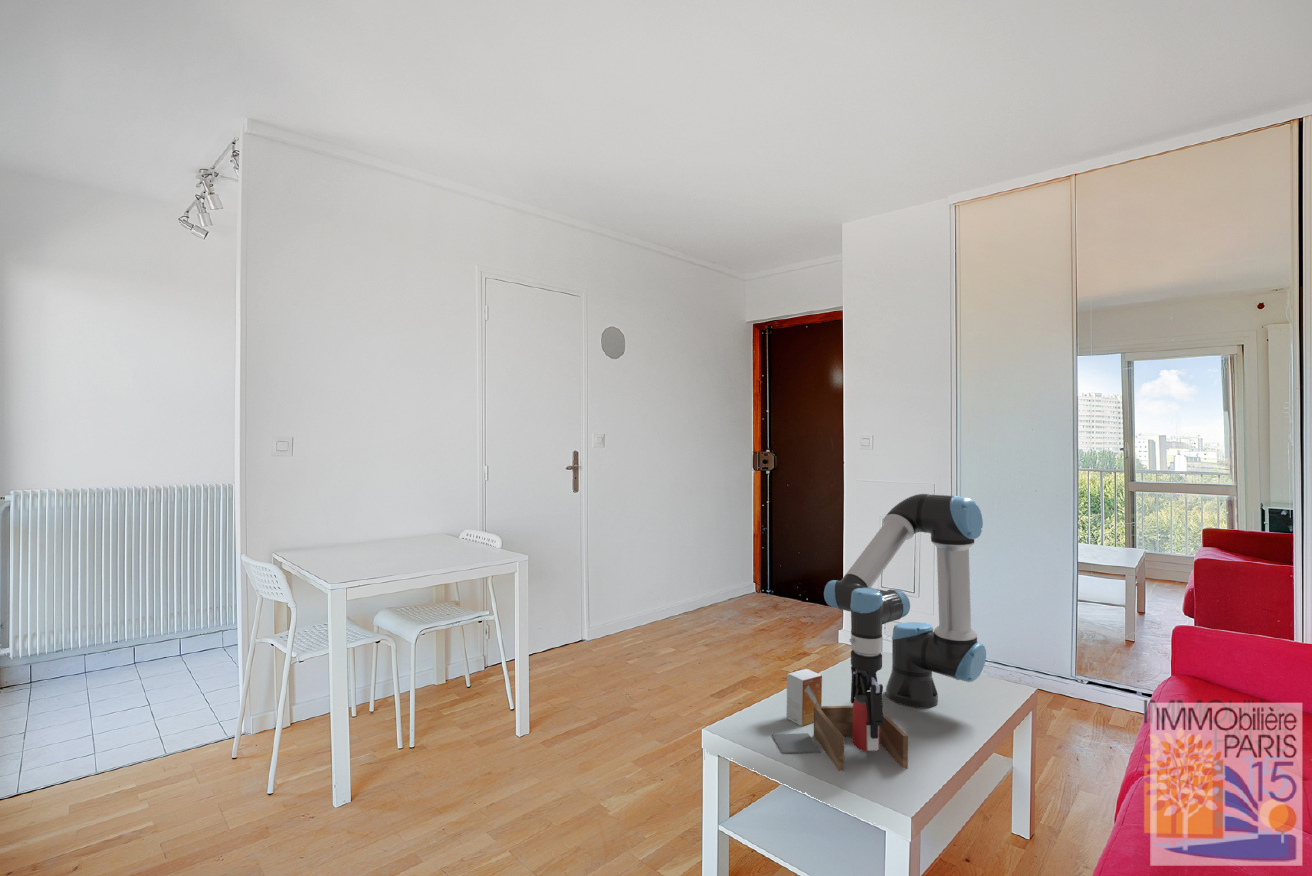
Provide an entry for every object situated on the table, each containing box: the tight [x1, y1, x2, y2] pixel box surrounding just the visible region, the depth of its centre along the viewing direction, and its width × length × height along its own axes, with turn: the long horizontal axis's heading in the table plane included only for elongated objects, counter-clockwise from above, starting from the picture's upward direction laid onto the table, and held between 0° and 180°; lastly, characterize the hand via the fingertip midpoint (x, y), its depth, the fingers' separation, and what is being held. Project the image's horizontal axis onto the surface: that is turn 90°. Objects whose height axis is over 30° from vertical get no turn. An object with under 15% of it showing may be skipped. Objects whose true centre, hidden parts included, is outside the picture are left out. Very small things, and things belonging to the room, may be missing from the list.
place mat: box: [771, 732, 822, 755], centre depth 167 cm, size 10×10×1 cm
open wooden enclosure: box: [813, 705, 909, 772], centre depth 163 cm, size 17×18×8 cm
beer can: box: [852, 695, 881, 753], centre depth 159 cm, size 7×7×12 cm
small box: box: [785, 668, 823, 727], centre depth 182 cm, size 8×6×13 cm
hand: (866, 742), depth 159 cm, fingers closed on beer can, 7 cm apart
